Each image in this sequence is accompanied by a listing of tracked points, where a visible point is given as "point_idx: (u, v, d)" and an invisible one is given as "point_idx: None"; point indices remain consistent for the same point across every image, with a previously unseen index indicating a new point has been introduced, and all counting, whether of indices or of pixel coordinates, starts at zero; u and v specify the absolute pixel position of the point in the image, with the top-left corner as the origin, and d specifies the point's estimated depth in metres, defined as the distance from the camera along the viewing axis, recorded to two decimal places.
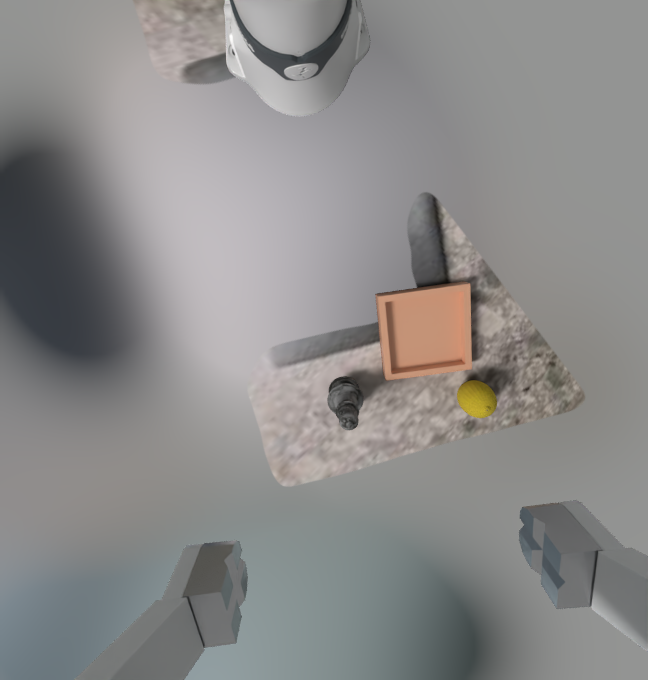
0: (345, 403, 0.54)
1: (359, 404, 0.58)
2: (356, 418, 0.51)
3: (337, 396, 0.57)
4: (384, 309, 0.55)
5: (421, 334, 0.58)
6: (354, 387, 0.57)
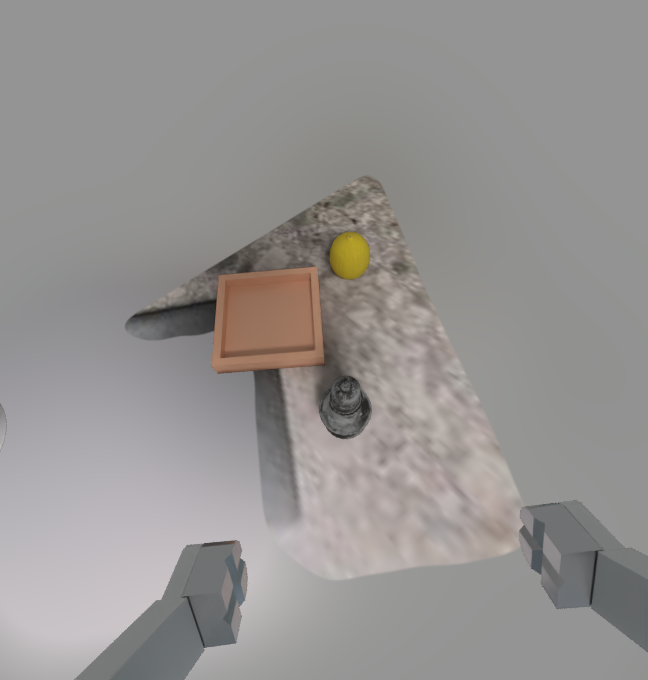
0: (330, 400, 0.36)
1: None
2: (339, 377, 0.34)
3: (335, 418, 0.39)
4: (228, 358, 0.45)
5: (274, 321, 0.49)
6: (325, 395, 0.41)
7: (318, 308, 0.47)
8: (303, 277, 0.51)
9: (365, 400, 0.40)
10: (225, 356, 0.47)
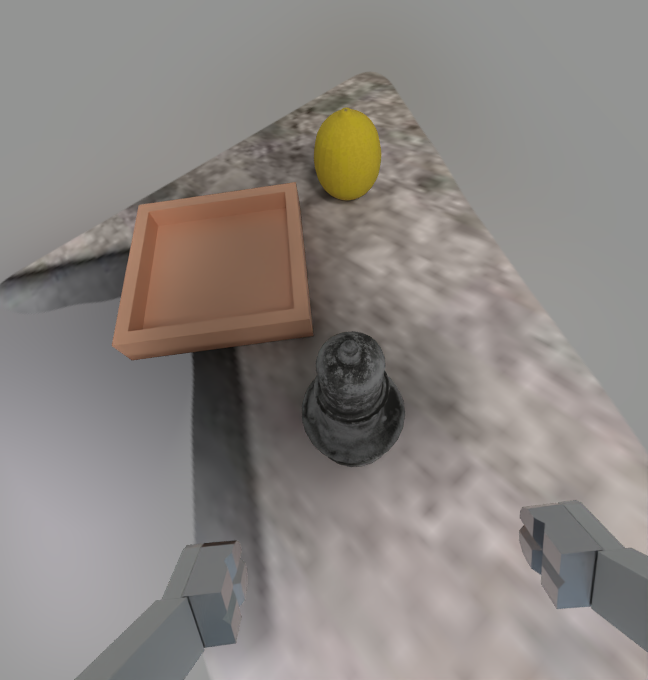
0: (318, 392, 0.17)
1: None
2: None
3: (333, 429, 0.19)
4: (142, 331, 0.25)
5: (227, 271, 0.29)
6: (313, 385, 0.21)
7: (298, 242, 0.28)
8: (274, 201, 0.32)
9: (391, 391, 0.20)
10: None
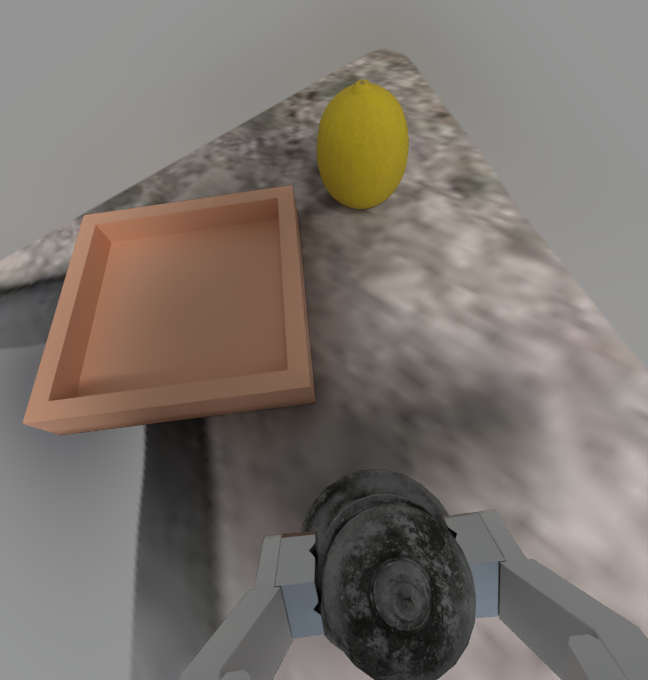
0: None
1: (396, 487, 0.13)
2: (364, 520, 0.07)
3: None
4: (69, 402, 0.18)
5: (198, 306, 0.22)
6: (315, 510, 0.13)
7: (295, 269, 0.20)
8: (264, 211, 0.24)
9: None
10: (78, 393, 0.20)
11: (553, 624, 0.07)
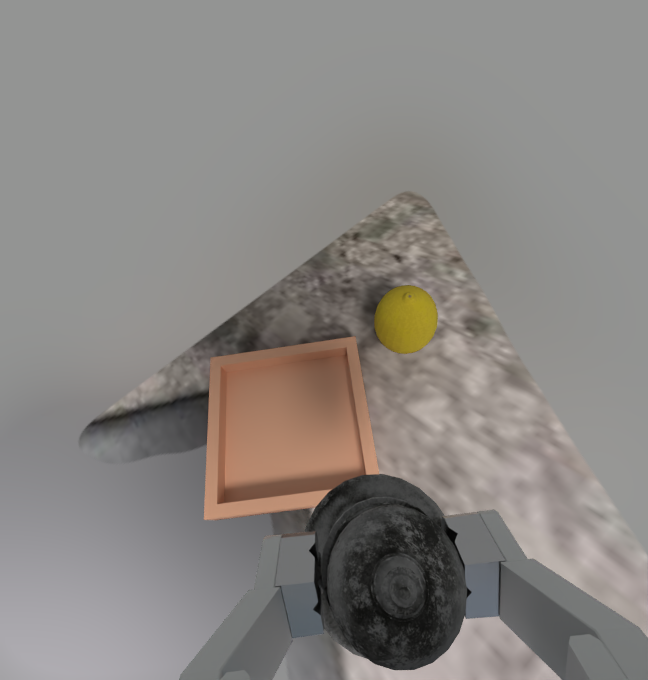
0: None
1: (394, 491, 0.14)
2: (365, 520, 0.08)
3: None
4: (230, 504, 0.28)
5: (297, 426, 0.32)
6: (318, 513, 0.14)
7: (364, 407, 0.30)
8: (335, 352, 0.34)
9: None
10: (226, 492, 0.30)
11: (553, 624, 0.07)
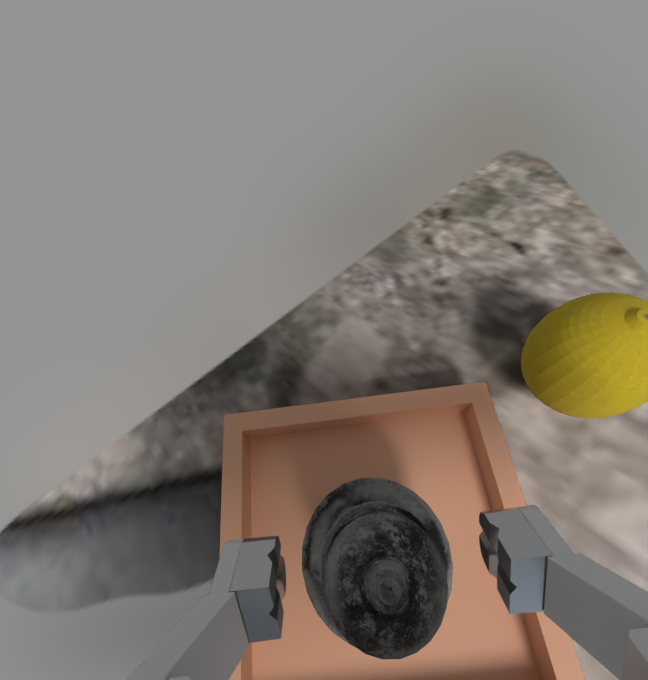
0: None
1: (390, 494, 0.15)
2: (357, 526, 0.08)
3: None
4: None
5: None
6: (318, 515, 0.15)
7: None
8: (446, 409, 0.19)
9: (431, 529, 0.14)
10: None
11: (606, 618, 0.07)
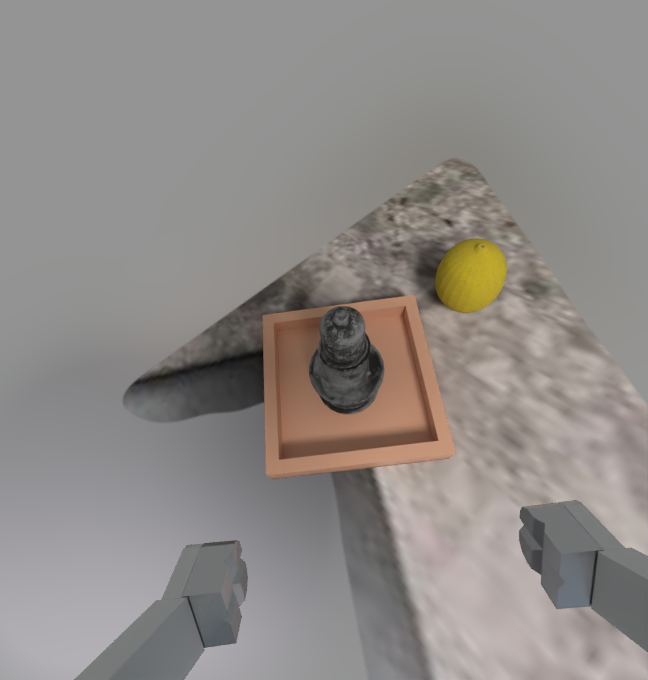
0: (321, 350, 0.24)
1: None
2: (332, 309, 0.22)
3: (331, 381, 0.26)
4: (293, 460, 0.27)
5: None
6: (317, 351, 0.29)
7: (429, 364, 0.29)
8: (392, 312, 0.33)
9: (374, 355, 0.28)
10: (284, 450, 0.29)
11: None
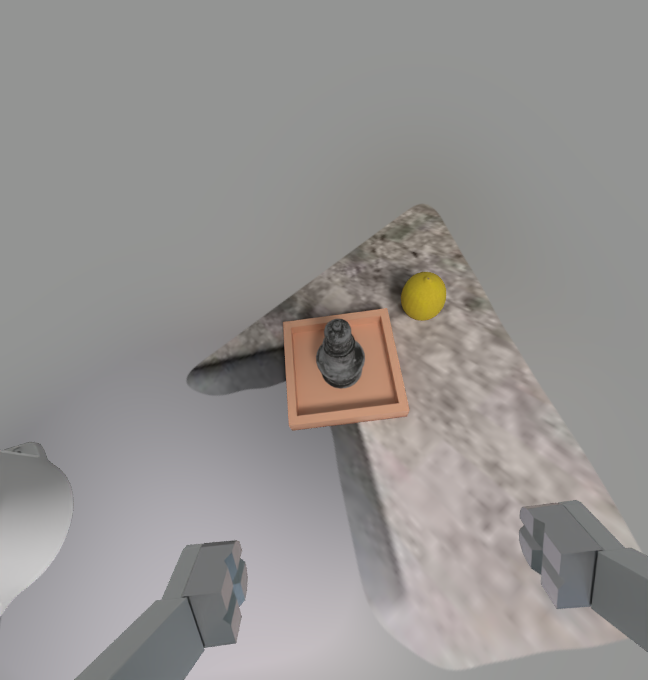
0: (324, 345, 0.39)
1: None
2: (331, 320, 0.37)
3: (331, 365, 0.41)
4: (306, 416, 0.42)
5: None
6: (321, 346, 0.43)
7: (395, 355, 0.44)
8: (372, 320, 0.48)
9: (358, 348, 0.43)
10: (299, 411, 0.44)
11: None
